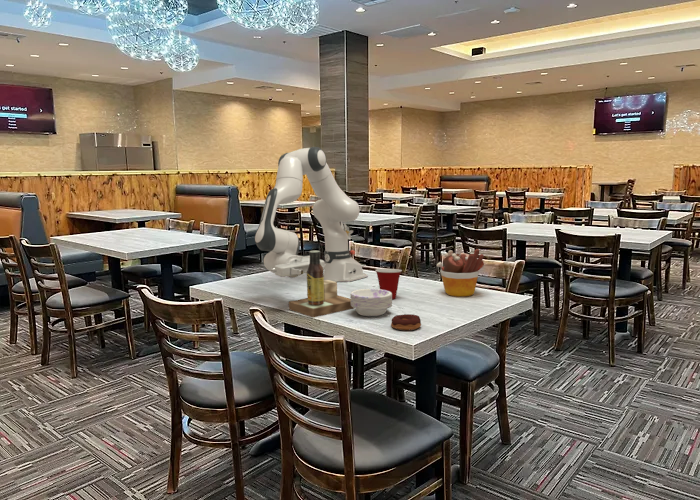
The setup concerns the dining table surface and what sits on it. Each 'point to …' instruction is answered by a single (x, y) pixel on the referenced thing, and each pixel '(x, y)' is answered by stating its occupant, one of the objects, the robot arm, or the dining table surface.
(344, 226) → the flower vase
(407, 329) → the donut
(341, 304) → the walnut board
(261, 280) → the dining table surface
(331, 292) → the birch cube
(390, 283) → the plastic cup
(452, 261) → the bucket of meat
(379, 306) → the paper bowls
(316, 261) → the sauce bottle
